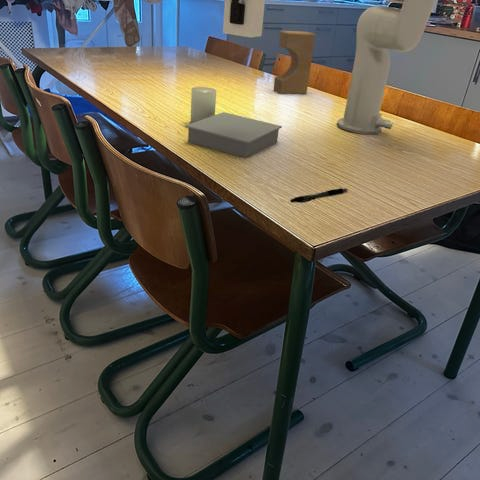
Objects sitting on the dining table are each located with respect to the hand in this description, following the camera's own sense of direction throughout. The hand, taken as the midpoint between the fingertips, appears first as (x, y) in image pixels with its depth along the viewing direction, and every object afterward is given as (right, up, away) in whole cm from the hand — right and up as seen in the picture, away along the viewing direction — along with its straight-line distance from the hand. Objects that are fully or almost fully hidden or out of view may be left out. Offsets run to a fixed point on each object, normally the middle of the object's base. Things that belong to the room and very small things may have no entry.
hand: (243, 22), depth 105 cm
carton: (0, -2, +1) cm, 2 cm away
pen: (+15, -39, -11) cm, 44 cm away
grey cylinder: (-11, -16, +24) cm, 31 cm away
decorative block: (+17, +5, +68) cm, 70 cm away
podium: (-2, -23, +13) cm, 27 cm away
